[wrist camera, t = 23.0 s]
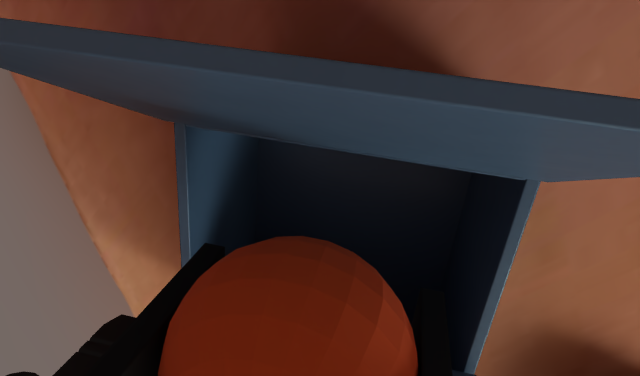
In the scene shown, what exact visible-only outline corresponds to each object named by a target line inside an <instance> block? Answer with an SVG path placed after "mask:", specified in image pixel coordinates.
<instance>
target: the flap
mask: <svg viewBox="0 0 640 376" xmlns="http://www.w3.org/2000/svg"><path fill="white" fill-rule="evenodd" d="M0 68H3V69H6V70H9V71H12V72H15V73H18V74H22V75H25V76H28V77H31V78H34V79H37V80H40V81H43V82H46V83H49V84H52V85H56V86H59V87H62V88H65V89H68V90H71V91H74V92H77V93H80V94H83V95H86V96H90V97H93V98H96V99H99V100H102V101H105V102H108V103H111V104H114V105H117V106H120V107H124V108H127V109H130V110H133V111H136V112H139V113H142V114H145V115H148V116H151V117H154V118H157V119H161V120H164V121H169V122H175V123H182V124H188V125H194V126H200V127H206V128H213V129H219V130H225V131H231V132H238V133H244V134H250V135H256V136H263V137H269V138H275V139H281V140H288V141H294V142H300V143H306V144H312V145H319V146H325V147H331V148H337V149H344V150H350V151H356V152H362V153H369V154H375V155H381V156H387V157H393V158H400V159H406V160H412V161H418V162H425V163H431V164H437V165H443V166H450V167H456V168H462V169H468V170H475V171H481V172H487V173H493V174H499V175H506V176H512V177H518V178H524V179H531V180H537V181H543V182H560V181H577V180H594V179H612V178H629V177H640V99H635V98H627V97H619V96H611V95H603V94H595V93H588V92H580V91H572V90H564V89H556V88H548V87H540V86H533V85H525V84H517V83H509V82H501V81H493V80H485V79H477V78H470V77H462V76H454V75H446V74H438V73H430V72H422V71H415V70H407V69H399V68H391V67H383V66H375V65H367V64H360V63H352V62H344V61H336V60H328V59H320V58H312V57H304V56H297V55H289V54H281V53H273V52H265V51H257V50H249V49H242V48H234V47H226V46H218V45H210V44H202V43H194V42H187V41H179V40H171V39H163V38H155V37H147V36H139V35H131V34H124V33H116V32H108V31H100V30H92V29H84V28H76V27H69V26H61V25H53V24H45V23H37V22H29V21H21V20H14V19H6V18H0Z"/></svg>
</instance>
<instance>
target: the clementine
mask: <svg viewBox="0 0 640 376" xmlns="http://www.w3.org/2000/svg"><path fill="white" fill-rule="evenodd" d="M158 376H419V371H418V359H417V350H416V345H415V340H414V334H413V329H412V327H411V324H410V322H409V319H408V317H407V315H406V312H405V310H404V308H403V305H402V303H401V302H400V300H399V299H398V297H397V296H396V294H395V293H394V292H393V290H392V289H391V287H390V286H389V285H388V284H387V282H386V281H385V280H384V279H383V277H382V276H381V275H380V274H379V273H378V271H377V270H376V269H375V268H374V267H372V266H371V265H370V264H369V263H367V262H366V261H365V260H363V259H362V258H361V257H359V256H358V255H357V254H355V253H354V252H352V251H350V250H347V249H345V248H343V247H341V246H339V245H336V244H334V243H332V242H330V241H326V240H321V239H316V238H311V237H306V236H283V237H274V238H271V239H267V240H264V241H261V242H257V243H254V244H251V245H248V246H244V247H241V248H238V249H236V250H234V251H233V252H231V253H230V254H228V255H227V256H225V257H224V258H222V259H221V260H219V261H218V262H216V263H215V264H214V265H213V266H212V267H210V268H209V269H208V270H207V271H206V272H205V273H204V274H202V275H201V276H200V277H199V278H198V279H197V280H196V282H195V283H194V284H193V286H192V287H191V288H190V290H189V291H188V292H187V294H186V295H185V296H184V298H183V300H182V301H181V303H180V305H179V307H178V308H177V310H176V312H175V314H174V315H173V317H172V319H171V321H170V323H169V327H168V330H167V334H166V337H165V341H164V344H163V349H162V355H161V360H160V365H159V370H158Z"/></svg>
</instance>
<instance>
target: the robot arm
mask: <svg viewBox="0 0 640 376" xmlns="http://www.w3.org/2000/svg"><path fill="white" fill-rule="evenodd" d="M224 257H225V247H223V246H218V245H213V244H208V243H204V245H203V246H202V247H201V248H200V249H199V250H198V251H197V252H196V253H195V254H194V255H193V257H192V258H191V259H190V260H189V261H188V262H187V263H186V264H185V265H184V266H183V267H182V269H181V270H180V271H179V272H178V273H177V274H176V275H175V276H174V277H173V278H172V280H171V281H170V282H169V283H168V284H167V285H166V286H165V287H164V288H163V289H162V290H161V292H160V293H159V294H158V295H157V296H156V297H155V298H154V299H153V300H152V301H151V302H150V304H149V305H148V306H147V307H146V308H145V309H144V310H143V311H142V312H141V313H140V314H139V316H138V317H137V318H135V317H131V316H126V315H120V316H118V317H116V318H114V319H113V320H111V321H109V322H107V323H106V324H104V325H103V326H102V327H101V328H100V329H99V330H98V331H97V332H96V333H95V334H94V335H93V336H92V337H91V338H90V340H89V341H87V342H86V343H85V344H84V345H83V346H82V347H81V348H80V349H79V352H76V353H75V354H74V355H73V356H72V357H71V358H70V359H69V360H68V361H67V362H66V363H65V364H64V365H63V366H62V367H61V368H60V369H59V370H58V371H57V372H56V373H55V374H54V375H53V376H158V370H159V365H160V360H161V355H162V349H163V344H164V341H165V337H166V334H167V330H168V327H169V323H170V321H171V319H172V317H173V315H174V314H175V312H176V310H177V308H178V307H179V305H180V303H181V301H182V300H183V298H184V296H185V295H186V294H187V292H188V291H189V290H190V288H191V287H192V286H193V284H194V283H195V282H196V280H197V279H198V278H199V277H200V276H201V275H202V274H204V273H205V272H206V271H207V270H208V269H209V268H210V267H212V266H213V265H214V264H215V263H216V262H218V261H219V260H221V259H222V258H224ZM411 327H412V329H413V334H414V340H415V345H416V350H417V359H418V371H419V376H453V374H452V364H451V355H450V345H449V335H448V325H447V316H446V306H445V296H444V292H441V291H436V290H431V289H427V288H422V287H421V288H420V292H419V296H418V300H417V305H416V309H415V313H414V317H413V321H412V325H411ZM6 376H39V375H37V374H36V373H31V372H19V373H12V374H9V375H6Z"/></svg>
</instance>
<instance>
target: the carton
mask: <svg viewBox="0 0 640 376" xmlns="http://www.w3.org/2000/svg"><path fill="white" fill-rule="evenodd" d="M174 132H175V151H176V171H177V190H178V210H179V229H180V249H181V268H182V267H183V266H184V265H185V264H186V263H187V262H188V261H189V260H190V259H191V258H192V257H193V255H194V254H195V253H196V252H197V251H198V250H199V249H200V248H201V247H202V246H203V245H204V243H208V244H213V245H218V246H223V247H225V256H227V255H228V254H230V253H231V252H233V251H234V250H236V249H238V248H241V247H244V246H248V245H251V244H254V243H257V242H261V241H264V240H267V239H271V238H274V237H283V236H306V237H311V238H316V239H321V240H326V241H330V242H332V243H334V244H336V245H339V246H341V247H343V248H345V249H347V250H350V251H352V252H354V253H355V254H357V255H358V256H359V257H361V258H362V259H363V260H365V261H366V262H367V263H369V264H370V265H371V266H372V267H374V268H375V269H376V270H377V271H378V273H379V274H380V275H381V276H382V277H383V279H384V280H385V281H386V282H387V284H388V285H389V286H390V287H391V289H392V290H393V292H394V293H395V294H396V296H397V297H398V299H399V300H400V302H401V303H402V305H403V308H404V310H405V312H406V315H407V317H408V319H409V322H410V324H411V325H412V321H413V317H414V313H415V309H416V305H417V300H418V296H419V292H420V288H421V287H422V288H427V289H431V290H436V291H441V292H444V296H445V306H446V316H447V325H448V335H449V345H450V355H451V364H452V374H453V376H476V375H474V373H475V370H476V367H477V364H478V361H479V358H480V356H481V353H482V350H483V347H484V344H485V341H486V338H487V335H488V332H489V330H490V327H491V324H492V321H493V318H494V315H495V312H496V309H497V306H498V304H499V301H500V298H501V295H502V292H503V289H504V286H505V283H506V280H507V278H508V275H509V272H510V269H511V266H512V263H513V260H514V257H515V254H516V252H517V249H518V246H519V243H520V240H521V237H522V234H523V231H524V228H525V226H526V223H527V220H528V217H529V214H530V211H531V208H532V205H533V202H534V200H535V197H536V194H537V191H538V188H539V185H540V182H541V181H537V180H531V179H524V178H518V177H512V176H506V175H499V174H493V173H487V172H481V171H475V170H468V169H462V168H456V167H450V166H443V165H437V164H431V163H425V162H418V161H412V160H406V159H400V158H393V157H387V156H381V155H375V154H369V153H362V152H356V151H350V150H344V149H337V148H331V147H325V146H319V145H312V144H306V143H300V142H294V141H288V140H281V139H275V138H269V137H263V136H256V135H250V134H244V133H238V132H231V131H225V130H219V129H213V128H206V127H200V126H194V125H188V124H182V123H175V122H174Z"/></svg>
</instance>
